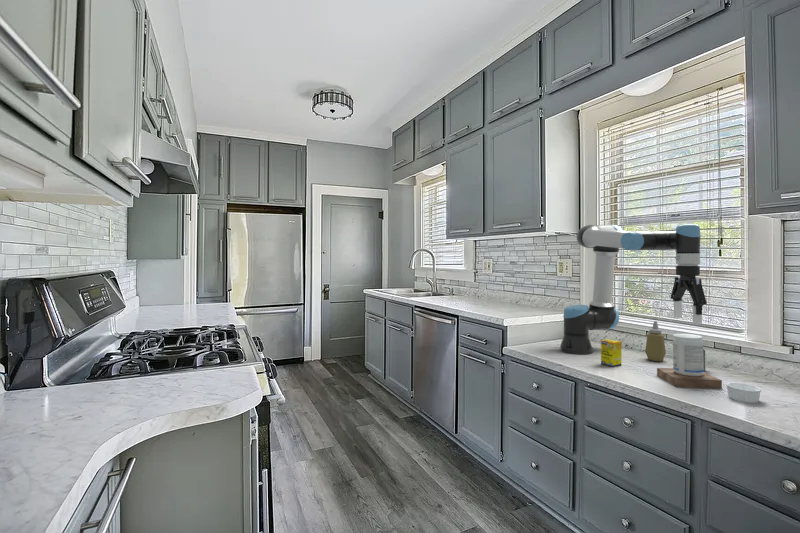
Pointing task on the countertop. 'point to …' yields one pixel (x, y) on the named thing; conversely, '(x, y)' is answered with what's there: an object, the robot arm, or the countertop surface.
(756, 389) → the ramekin
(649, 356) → the squeeze bottle
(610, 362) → the supplement box
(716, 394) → the countertop surface
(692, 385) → the walnut plinth
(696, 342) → the supplement tub
